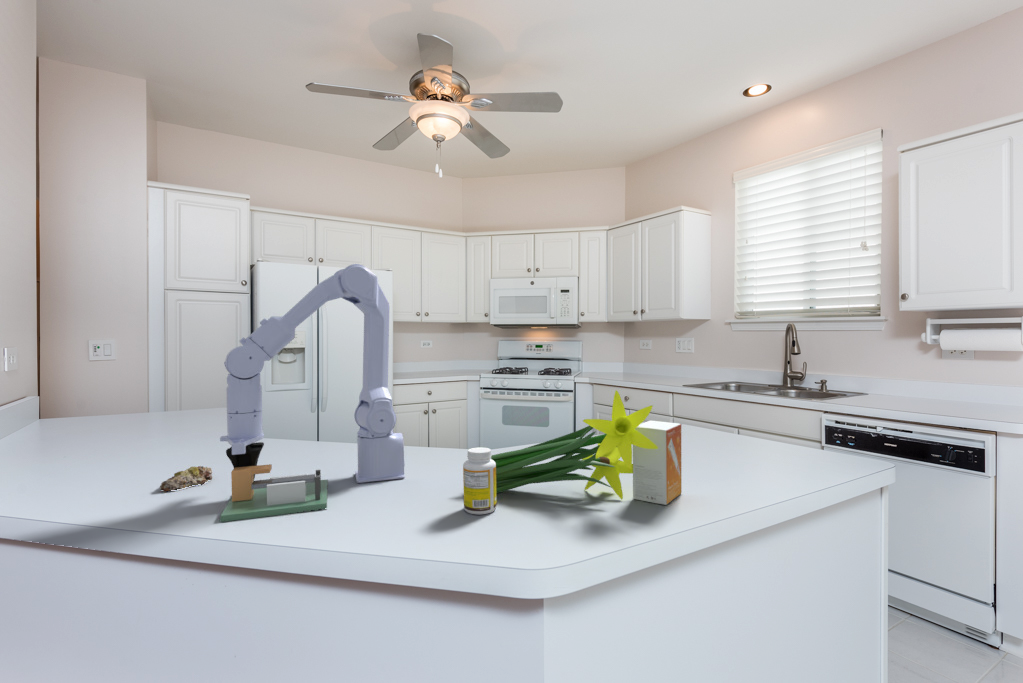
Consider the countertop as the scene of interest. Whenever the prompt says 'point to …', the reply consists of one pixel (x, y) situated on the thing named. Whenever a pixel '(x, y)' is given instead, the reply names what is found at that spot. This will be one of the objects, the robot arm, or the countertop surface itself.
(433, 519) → the countertop surface
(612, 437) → the daffodil flowers
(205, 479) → the mineral rock
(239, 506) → the board
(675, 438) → the small box
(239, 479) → the orange l-shaped block
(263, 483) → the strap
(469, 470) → the supplement bottle
